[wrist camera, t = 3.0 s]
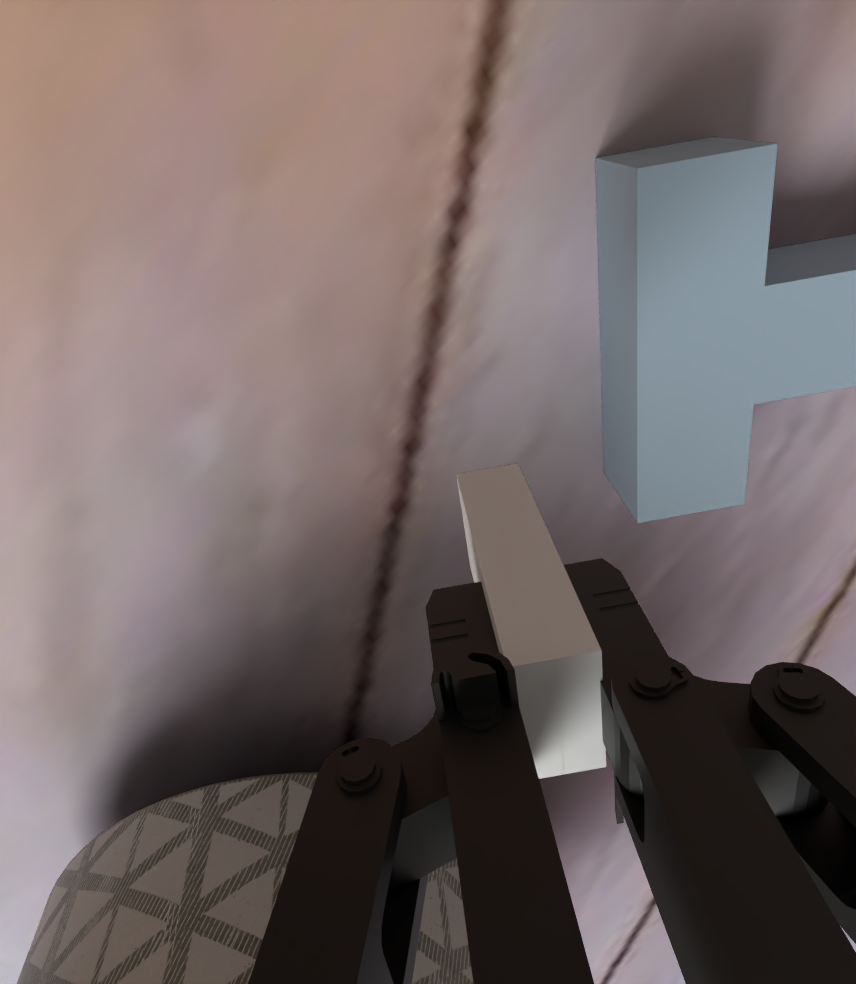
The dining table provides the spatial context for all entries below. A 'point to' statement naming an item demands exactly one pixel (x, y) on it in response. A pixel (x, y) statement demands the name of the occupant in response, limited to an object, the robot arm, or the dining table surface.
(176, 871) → the planter
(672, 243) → the t block
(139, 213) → the dining table surface
